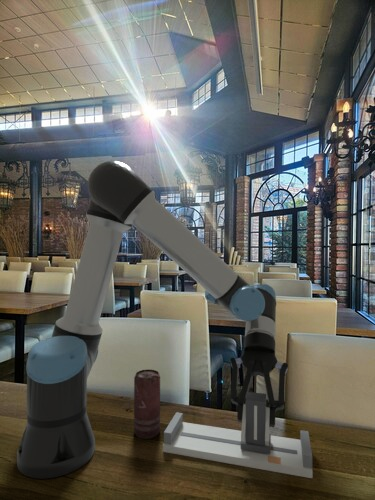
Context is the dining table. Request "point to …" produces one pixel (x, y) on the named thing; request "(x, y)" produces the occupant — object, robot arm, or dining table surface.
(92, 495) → the dining table surface
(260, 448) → the fader knob
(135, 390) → the can
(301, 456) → the fader base
